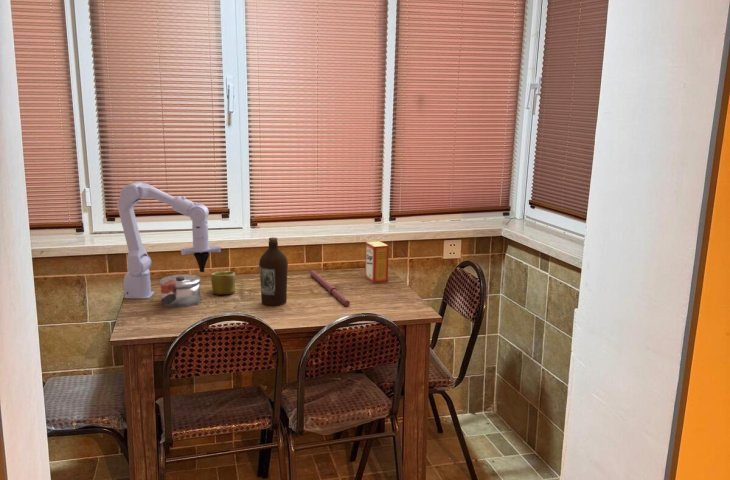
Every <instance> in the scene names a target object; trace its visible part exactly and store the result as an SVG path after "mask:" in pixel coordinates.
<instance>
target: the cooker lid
mask: <svg viewBox="0 0 730 480" xmlns="http://www.w3.org/2000/svg"><path fill="white" fill-rule="evenodd" d="M199 283H200V284H201V277H200V276H198V275H197V274H195V275H194V274H187V273H184V274H183V273H182V274H173V275H167V276H164V277H162V278H161V279H160V280H159V284H160V293H161V294H162V293H163V294H168V293H170V292H171V291H172V290H174V289H175V288H188V287H193V286H196V285H198V284H199Z"/></svg>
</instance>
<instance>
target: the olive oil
mask: <svg viewBox="0 0 730 480" xmlns="http://www.w3.org/2000/svg"><path fill="white" fill-rule="evenodd" d="M278 245H279V242H278V237H274V236H273V237H269V238H268V249H266V251H264V253H263V254H262V255H261V257H260V258H259V265H258V268H259V279H260V280H259V281H260V295H261V299H260V300H261V303H262V305H265V306H267V307H268V306H269V307H278V306H282V305H285V304H286V303H287V302H288V301H287V299H288V298H287V297H288V296H287V294H288V293H287V291H288V265H289V264H288V259H287V256H286V254H284V253H283V252H282V250H281V249H279V247H278Z"/></svg>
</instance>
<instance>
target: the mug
mask: <svg viewBox="0 0 730 480" xmlns="http://www.w3.org/2000/svg"><path fill="white" fill-rule="evenodd" d="M210 279H211V281H210V283H211V289H212V293H213V294H214V295H219V296H221V295H233V294H234V293H235V292H236V273H235V272H234V271H230V270H226V271H215V272H213V273H211V275H210Z"/></svg>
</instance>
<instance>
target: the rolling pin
mask: <svg viewBox="0 0 730 480" xmlns="http://www.w3.org/2000/svg"><path fill="white" fill-rule="evenodd" d="M309 275H311V276H312V277H313V278H314V279H315V280H316V281H317V282H318V283H320V284H321V285H322V287H324V288H325V289H326V290H328V291H327V292H328V294H329V295H332V296H334V297H335V298H336V299H337V300H338V301H339V302H340V303H341V304H343V306H344V307H349V306H350V304H351V303H350V302H351V301H350V300H348V299H347V298H346V297H345V296H344V295H343V294H341V292H339V291H338V288H337V287H335V286H333V285H331V284H330V282H328V281H327V280H325V279H324V278H323V277H322V276H321V275H320V274H318V272H317V271H315V270H314V269H311V270H310V271H309Z"/></svg>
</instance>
